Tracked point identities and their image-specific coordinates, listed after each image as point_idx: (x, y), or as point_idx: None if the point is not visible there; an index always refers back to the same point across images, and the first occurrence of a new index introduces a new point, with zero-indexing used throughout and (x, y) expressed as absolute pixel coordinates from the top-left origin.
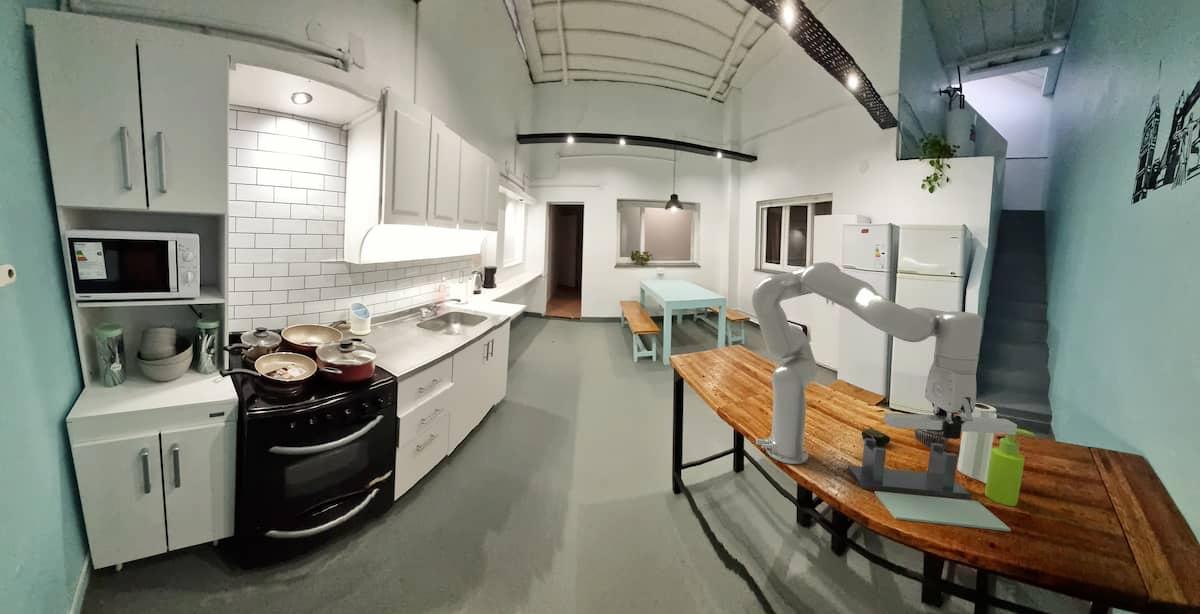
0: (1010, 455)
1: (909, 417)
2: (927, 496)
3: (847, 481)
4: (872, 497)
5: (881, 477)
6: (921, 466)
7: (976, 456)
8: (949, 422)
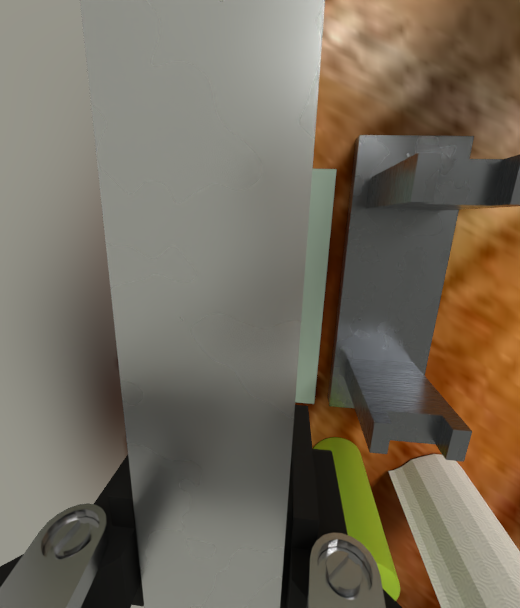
0: None
1: (147, 102)
2: (322, 305)
3: (394, 108)
4: (314, 153)
5: (372, 201)
6: (471, 383)
7: (438, 519)
8: (75, 519)
